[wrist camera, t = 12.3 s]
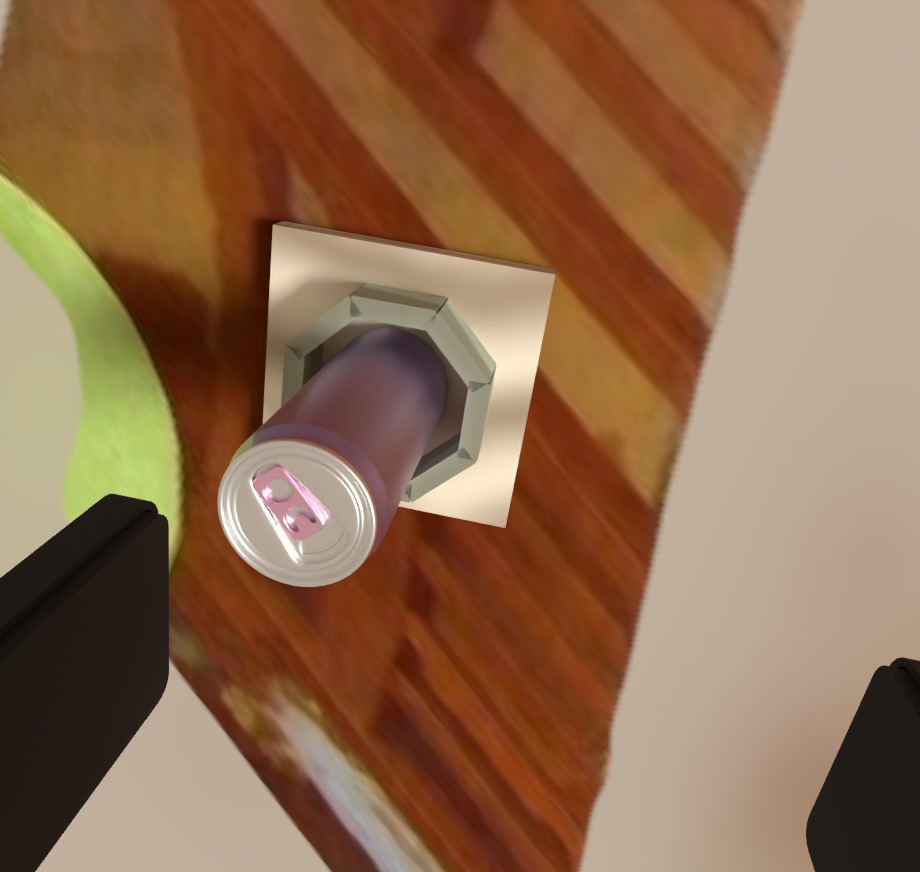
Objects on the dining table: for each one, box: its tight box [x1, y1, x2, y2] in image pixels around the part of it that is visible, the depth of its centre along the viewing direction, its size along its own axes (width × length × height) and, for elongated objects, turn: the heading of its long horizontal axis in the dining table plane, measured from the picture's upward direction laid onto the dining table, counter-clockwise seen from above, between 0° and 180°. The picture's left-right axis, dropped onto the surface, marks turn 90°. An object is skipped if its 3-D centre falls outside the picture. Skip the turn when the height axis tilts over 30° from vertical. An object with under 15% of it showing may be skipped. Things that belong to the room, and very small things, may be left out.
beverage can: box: [218, 328, 448, 587], centre depth 33 cm, size 6×6×15 cm
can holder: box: [263, 221, 556, 528], centre depth 39 cm, size 14×14×4 cm
